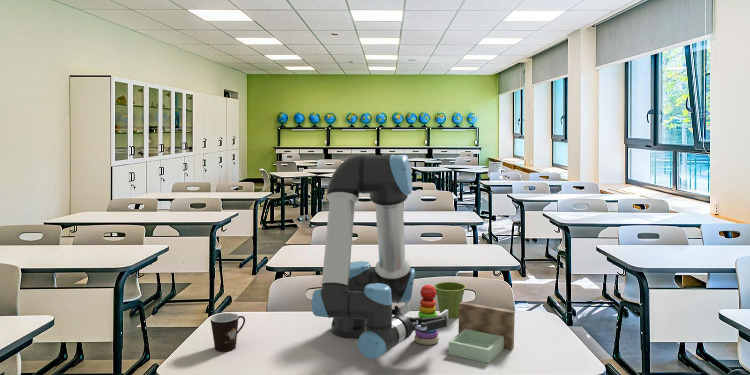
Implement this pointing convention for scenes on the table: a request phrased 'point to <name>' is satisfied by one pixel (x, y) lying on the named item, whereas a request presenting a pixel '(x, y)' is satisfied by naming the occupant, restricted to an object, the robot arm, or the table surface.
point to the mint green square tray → (476, 345)
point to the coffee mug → (225, 331)
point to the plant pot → (449, 297)
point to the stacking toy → (427, 315)
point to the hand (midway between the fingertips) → (428, 310)
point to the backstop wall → (488, 321)
